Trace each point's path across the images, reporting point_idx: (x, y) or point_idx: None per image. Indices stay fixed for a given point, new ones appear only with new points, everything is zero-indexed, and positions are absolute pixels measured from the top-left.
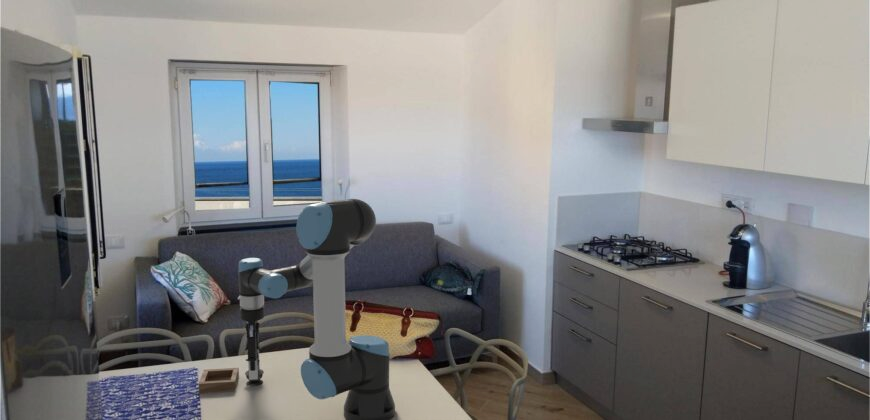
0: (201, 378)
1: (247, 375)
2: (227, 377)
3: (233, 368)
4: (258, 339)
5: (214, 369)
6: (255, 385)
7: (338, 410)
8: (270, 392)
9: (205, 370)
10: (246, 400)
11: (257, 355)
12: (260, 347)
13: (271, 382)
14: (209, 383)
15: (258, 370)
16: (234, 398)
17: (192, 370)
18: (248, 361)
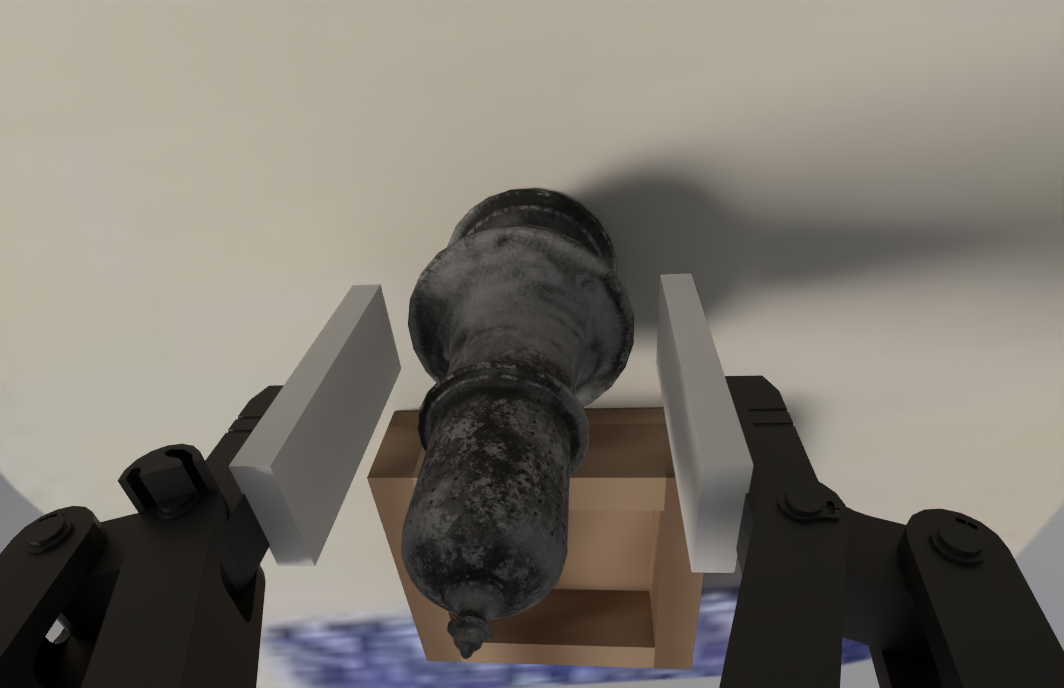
0: (593, 662)
1: (601, 394)
2: None
3: (390, 510)
4: (12, 643)
5: (419, 614)
6: (612, 258)
7: None
8: (839, 60)
9: (440, 653)
10: (949, 301)
11: (522, 473)
12: (173, 473)
13: (533, 85)
14: (695, 619)
15: (549, 306)
16: (852, 399)
17: (310, 643)
18: (731, 554)
